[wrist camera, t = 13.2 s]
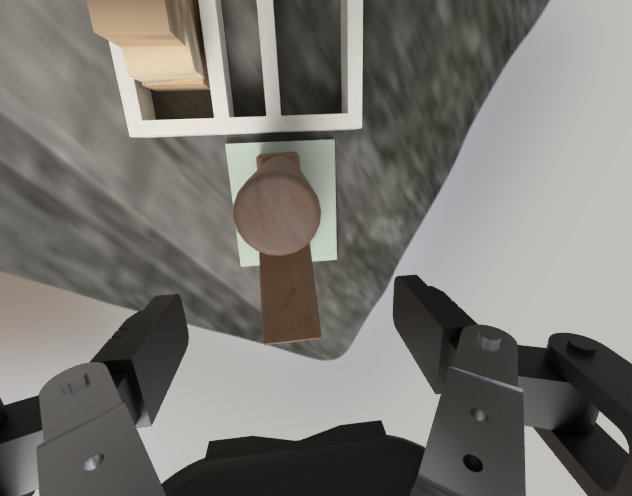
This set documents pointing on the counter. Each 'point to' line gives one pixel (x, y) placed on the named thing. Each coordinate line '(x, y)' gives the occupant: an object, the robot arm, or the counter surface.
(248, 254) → the sage mat
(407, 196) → the counter surface
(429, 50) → the counter surface
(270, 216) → the wooden block
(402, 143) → the counter surface
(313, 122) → the offcut rack
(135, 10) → the offcut stack
